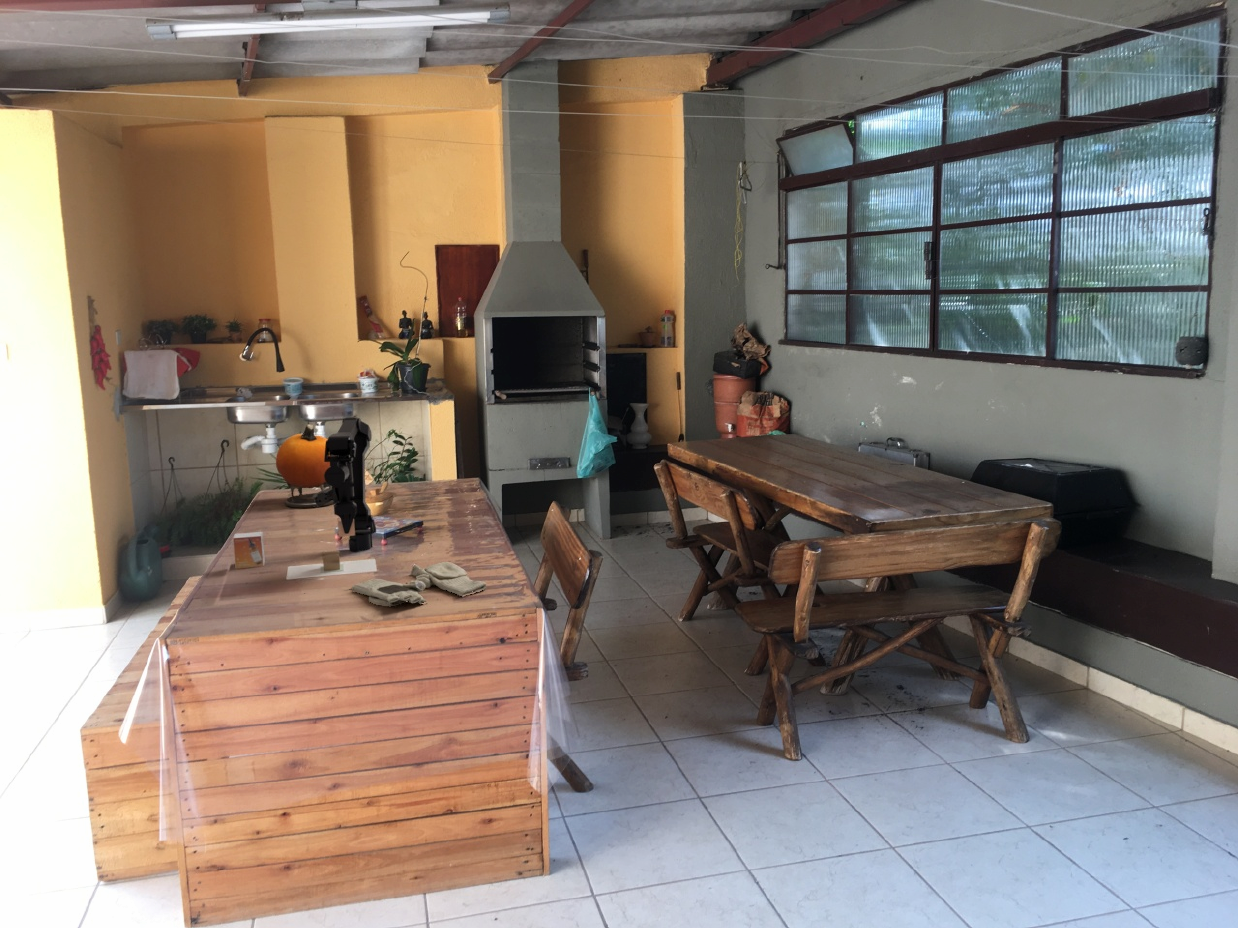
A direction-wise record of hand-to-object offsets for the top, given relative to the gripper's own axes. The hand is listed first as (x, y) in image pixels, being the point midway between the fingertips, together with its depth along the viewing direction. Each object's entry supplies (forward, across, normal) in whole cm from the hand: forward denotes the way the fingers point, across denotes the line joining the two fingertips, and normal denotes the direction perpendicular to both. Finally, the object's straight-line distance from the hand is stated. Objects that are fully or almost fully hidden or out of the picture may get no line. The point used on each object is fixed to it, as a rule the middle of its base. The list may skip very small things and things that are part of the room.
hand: (346, 531), depth 298 cm
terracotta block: (+1, 0, 0) cm, 1 cm away
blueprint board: (+12, 0, -5) cm, 13 cm away
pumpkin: (+12, -97, -10) cm, 98 cm away
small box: (+12, -13, -28) cm, 33 cm away
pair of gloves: (+13, +25, +18) cm, 34 cm away
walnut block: (+11, 0, -5) cm, 12 cm away
